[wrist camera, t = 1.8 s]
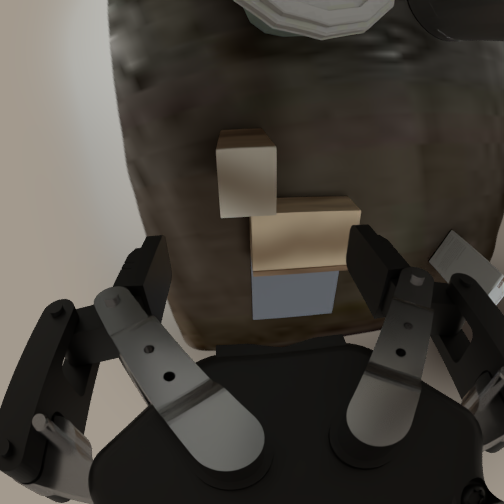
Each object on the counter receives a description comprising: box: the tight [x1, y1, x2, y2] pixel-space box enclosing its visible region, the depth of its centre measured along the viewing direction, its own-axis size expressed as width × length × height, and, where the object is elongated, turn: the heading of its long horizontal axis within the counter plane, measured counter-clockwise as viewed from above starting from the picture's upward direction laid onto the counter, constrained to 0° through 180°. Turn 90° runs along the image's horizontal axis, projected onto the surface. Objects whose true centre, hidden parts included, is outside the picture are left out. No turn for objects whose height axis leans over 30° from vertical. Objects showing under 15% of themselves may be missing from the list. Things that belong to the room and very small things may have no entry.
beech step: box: [249, 196, 361, 277], centre depth 31 cm, size 7×11×4 cm, turn 92°
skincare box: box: [429, 230, 504, 305], centre depth 31 cm, size 6×4×12 cm
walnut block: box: [216, 128, 277, 218], centre depth 24 cm, size 5×4×10 cm
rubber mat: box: [251, 262, 339, 320], centre depth 38 cm, size 10×11×1 cm
